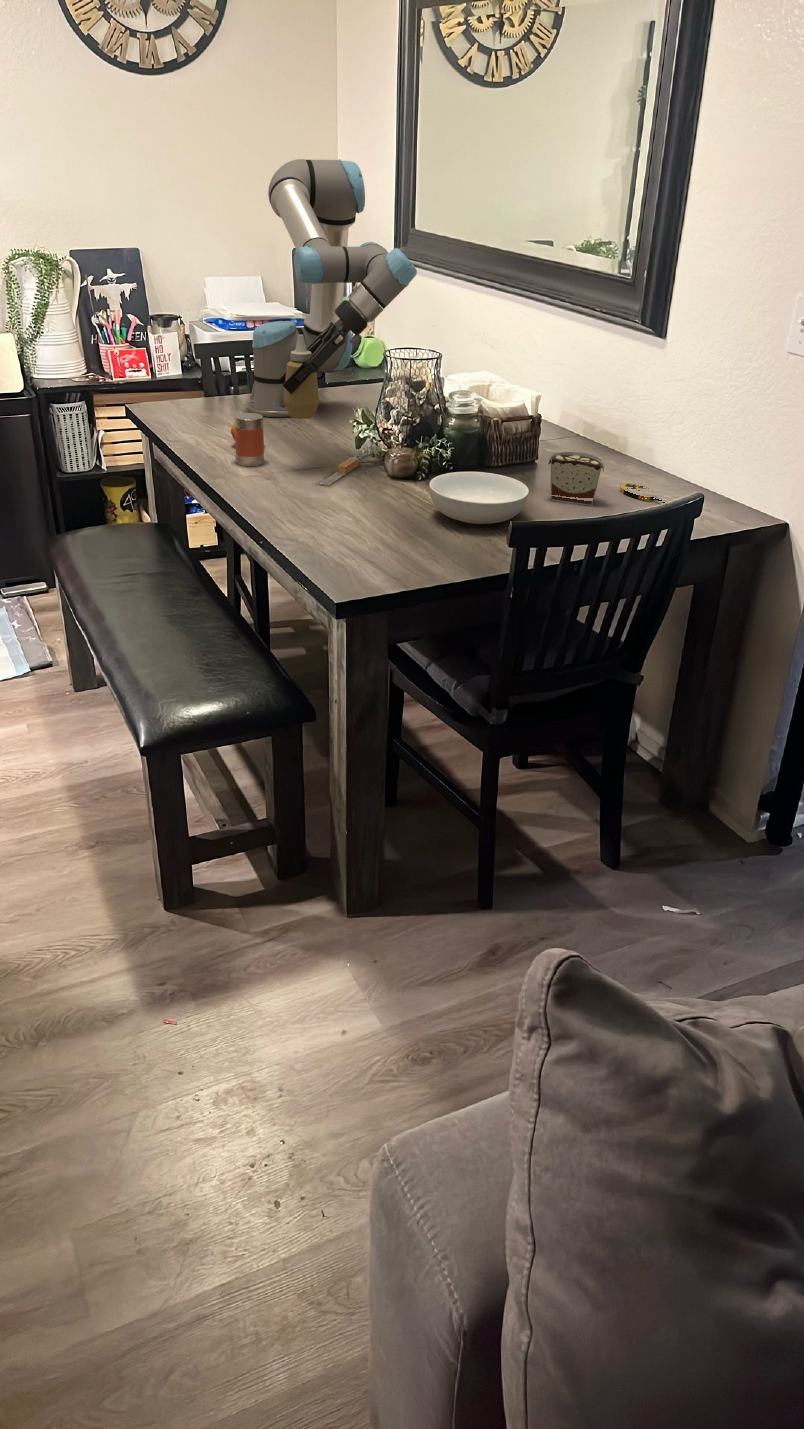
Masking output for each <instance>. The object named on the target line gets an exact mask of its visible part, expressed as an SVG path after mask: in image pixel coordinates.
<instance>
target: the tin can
mask: <svg viewBox="0 0 804 1429" xmlns="http://www.w3.org/2000/svg"><path fill="white" fill-rule="evenodd" d="M233 417H234V418H233V419H234V423H235V440H234V444H235V445H234V447H235V463H236V465H239V466H241V467H259V466H262V465H264V464H265V441H264V438H265V437H264V434H265V432H264V416H262V415H260V414H257V413H250V412H240V413H236V414H235V415H234V416H233Z"/></svg>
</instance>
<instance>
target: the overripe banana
mask: <svg viewBox="0 0 804 1429" xmlns="http://www.w3.org/2000/svg"><path fill="white" fill-rule="evenodd" d="M621 485H622V486H624V487H633V488H629V489H636V490H637V489H639V488H641V489H647V488H648V489H650V488H649V487H646V488H643V487H645V486H643V485H640V484H635V483H632V482H625V483H621V484H620V486H621ZM639 485H640V486H639ZM620 486H619V491H620V492H621V493H623V494H624V495H625V496H627V497H629V498H633V499H636V500H640V501H644V502H651V501H657V502H659V501H662V500H663V499H661V500H659V499H660V498H659V499H656V498H657V497H656V498H655V499H653V498H654V497H644V496H640V495H636V494H633V493H630V492H628V491H625V490H624V489H622V488H621V487H620ZM636 487H638V488H636ZM627 489H628V488H627ZM638 491H640V490H638ZM642 498H643V499H642ZM645 498H647V499H645ZM661 503H662V504H664V503H665V502H661Z"/></svg>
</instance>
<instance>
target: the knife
mask: <svg viewBox="0 0 804 1429" xmlns="http://www.w3.org/2000/svg"><path fill="white" fill-rule="evenodd" d="M359 466H360V458H358V457H353V456H351V457H349V458H348V459H346V460H344V461H342V462H341V463H340V464H338V465H337V471H335V473H333V474H331V475H330V476H328V477H327V478H325V479H323V480H322V481H320V482H319V483H318V485H319V486H326V487H329V486H331V485H333V484H334V483H336V482H337V481H339V480H340V479H342V478H343V477H345V476H346V475H347V474H348V473H349V472H351V471H353V470H354V469H356V468H357V467H359Z"/></svg>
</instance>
